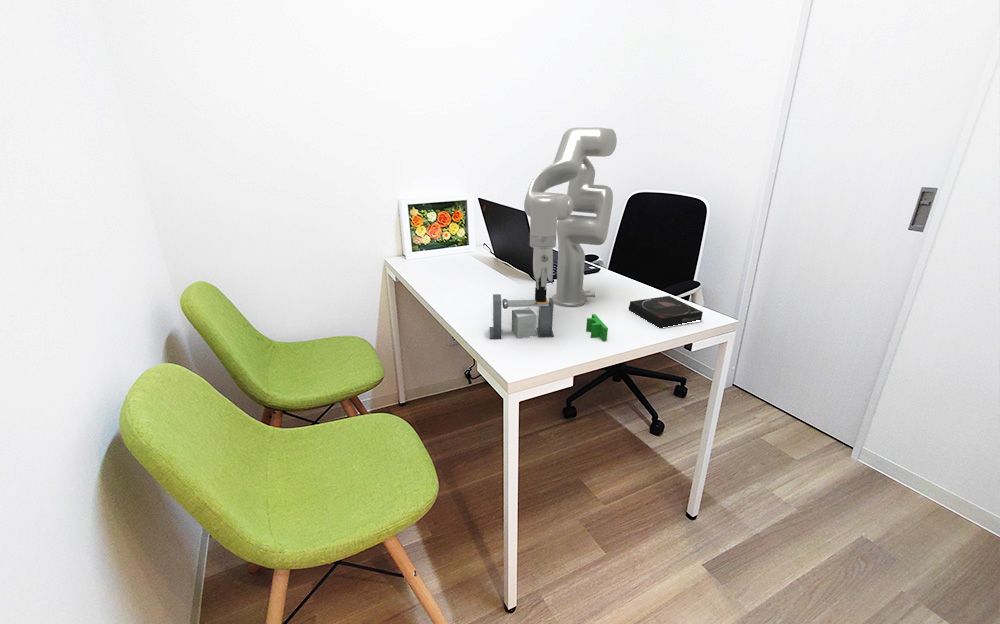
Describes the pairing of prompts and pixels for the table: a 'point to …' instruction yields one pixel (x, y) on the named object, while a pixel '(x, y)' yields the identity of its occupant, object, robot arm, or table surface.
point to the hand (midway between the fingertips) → (540, 300)
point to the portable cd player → (665, 311)
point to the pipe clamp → (596, 328)
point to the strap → (523, 303)
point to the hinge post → (496, 318)
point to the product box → (523, 322)
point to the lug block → (545, 320)
